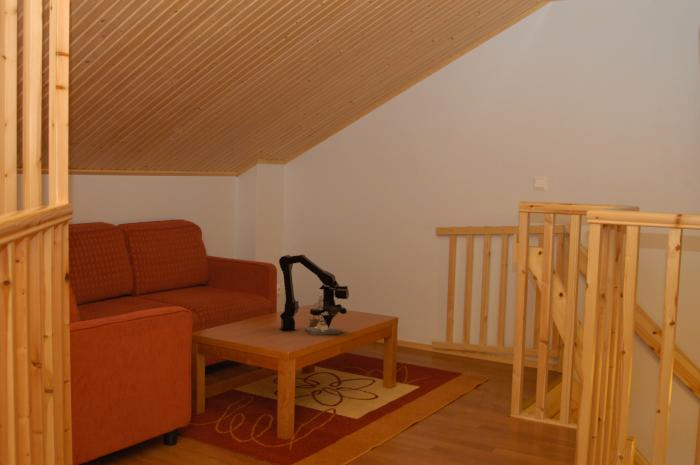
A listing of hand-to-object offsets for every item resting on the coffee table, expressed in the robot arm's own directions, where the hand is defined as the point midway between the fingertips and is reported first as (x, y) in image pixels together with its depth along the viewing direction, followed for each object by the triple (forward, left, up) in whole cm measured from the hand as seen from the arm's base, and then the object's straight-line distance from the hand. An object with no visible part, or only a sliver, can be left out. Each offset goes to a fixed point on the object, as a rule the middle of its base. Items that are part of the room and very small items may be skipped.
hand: (328, 327), depth 411 cm
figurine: (+7, +29, -3) cm, 30 cm away
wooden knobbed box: (-3, +13, -3) cm, 14 cm away
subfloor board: (-2, +2, -3) cm, 4 cm away
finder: (-3, 0, -1) cm, 3 cm away
